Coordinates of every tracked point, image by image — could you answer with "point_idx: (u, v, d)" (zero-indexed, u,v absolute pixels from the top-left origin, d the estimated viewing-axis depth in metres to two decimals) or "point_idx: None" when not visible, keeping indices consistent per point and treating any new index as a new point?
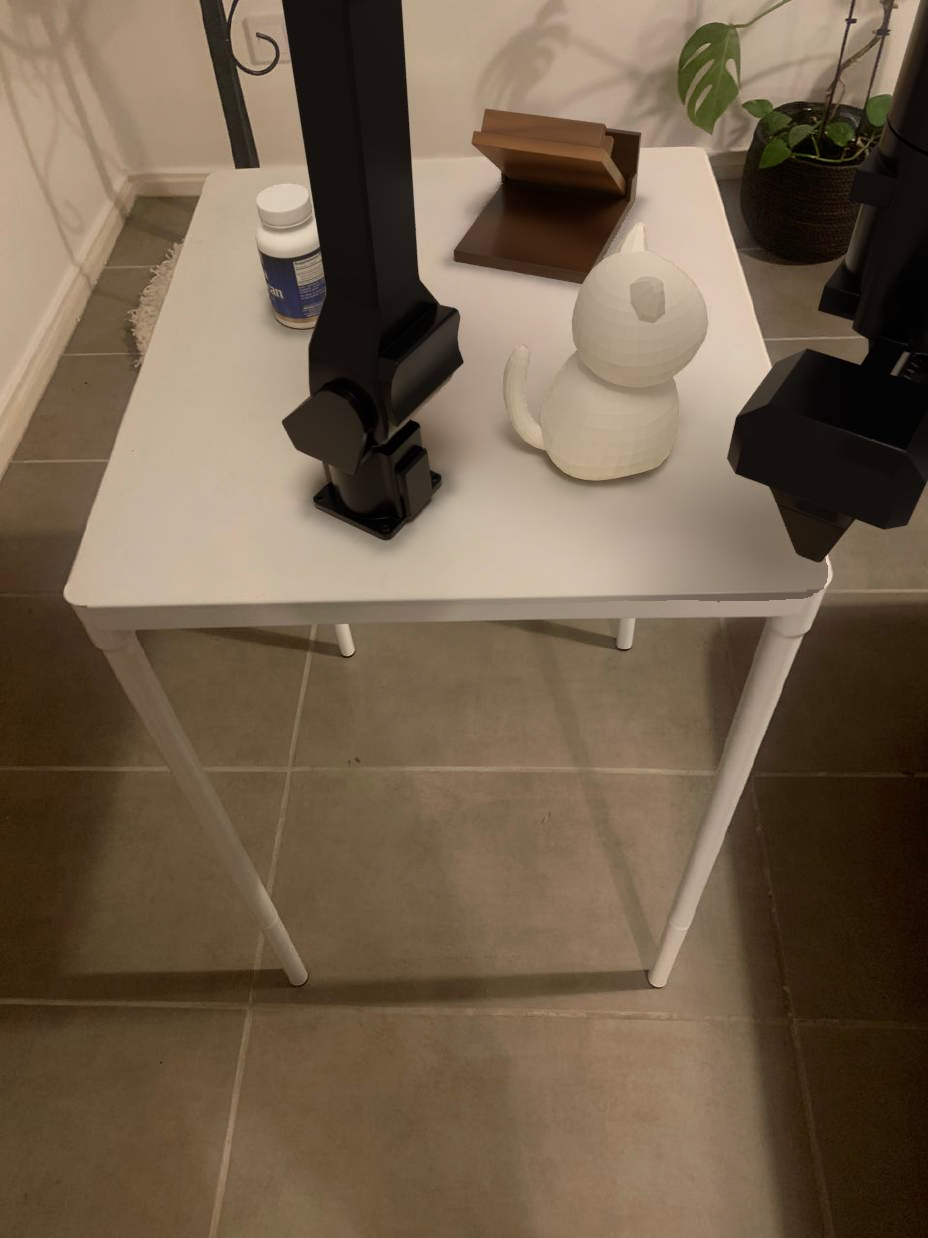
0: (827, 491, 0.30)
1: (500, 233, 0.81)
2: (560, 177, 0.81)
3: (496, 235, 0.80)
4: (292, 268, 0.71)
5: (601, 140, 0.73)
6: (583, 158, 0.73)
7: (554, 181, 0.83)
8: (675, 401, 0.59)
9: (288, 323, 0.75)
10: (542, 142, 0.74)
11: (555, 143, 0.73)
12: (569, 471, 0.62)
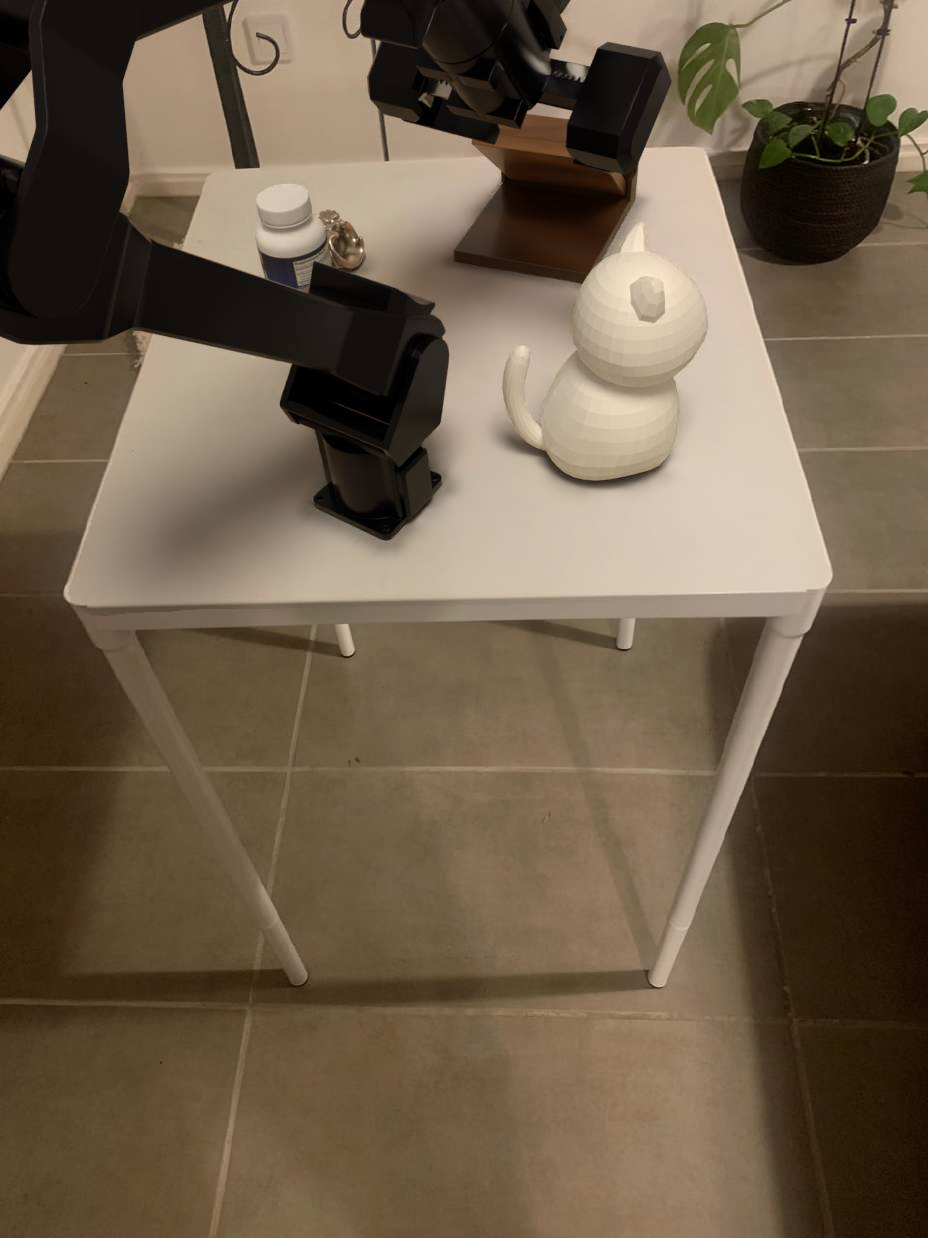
0: (655, 109, 0.54)
1: (500, 233, 0.81)
2: (560, 177, 0.81)
3: (496, 235, 0.80)
4: (292, 268, 0.71)
5: None
6: None
7: (554, 181, 0.83)
8: (675, 401, 0.59)
9: None
10: (542, 142, 0.74)
11: (555, 143, 0.73)
12: (569, 471, 0.62)
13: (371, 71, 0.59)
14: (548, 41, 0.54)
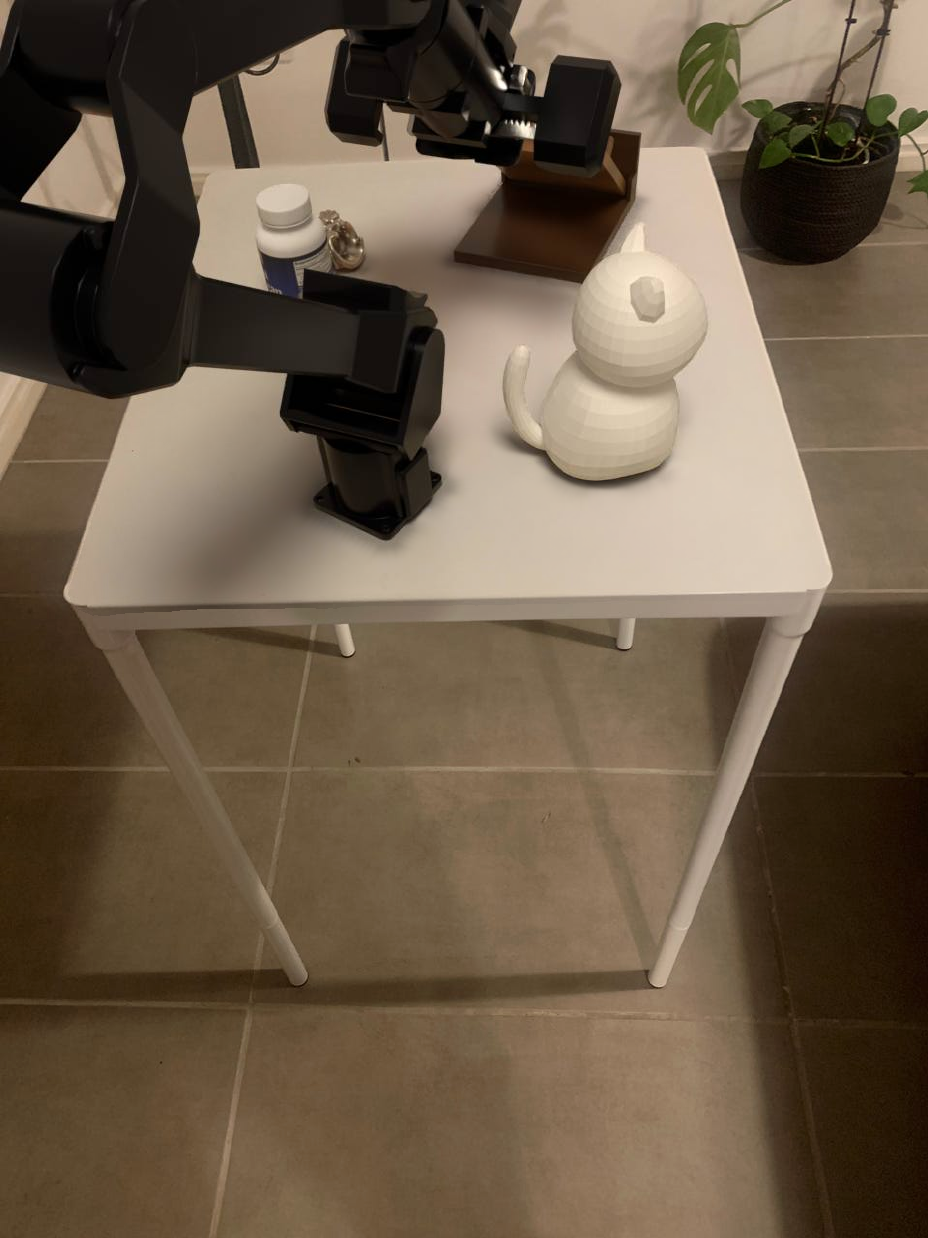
0: (611, 114, 0.57)
1: (500, 233, 0.81)
2: (560, 177, 0.81)
3: (496, 235, 0.80)
4: (292, 268, 0.71)
5: None
6: None
7: (554, 181, 0.83)
8: (675, 401, 0.59)
9: None
10: None
11: None
12: (569, 471, 0.62)
13: (329, 105, 0.61)
14: (502, 61, 0.57)
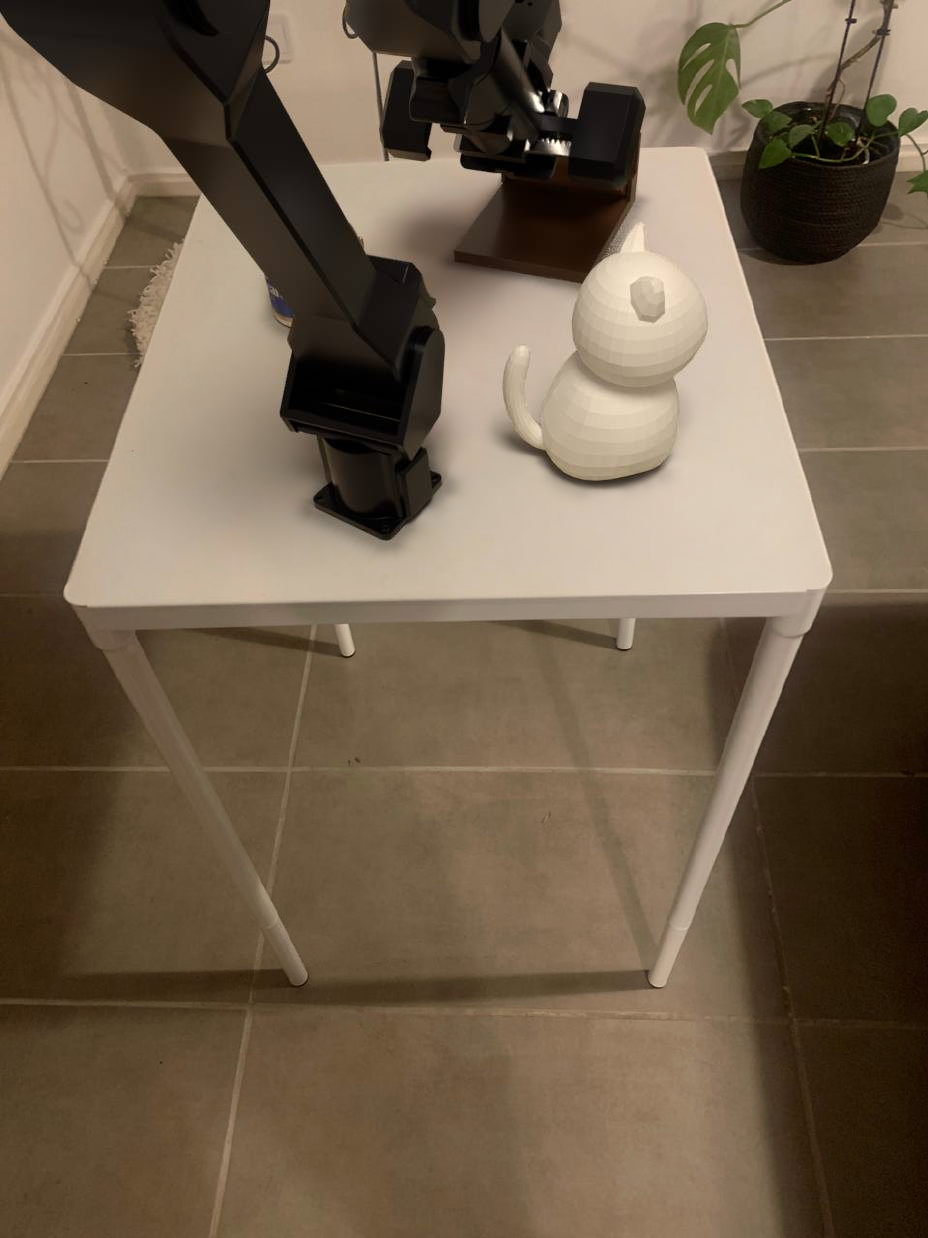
0: (637, 134, 0.65)
1: (500, 233, 0.81)
2: (560, 177, 0.81)
3: (496, 235, 0.80)
4: None
5: None
6: None
7: (554, 181, 0.83)
8: (675, 401, 0.59)
9: (288, 323, 0.75)
10: None
11: None
12: (569, 471, 0.62)
13: (384, 125, 0.68)
14: (541, 88, 0.64)
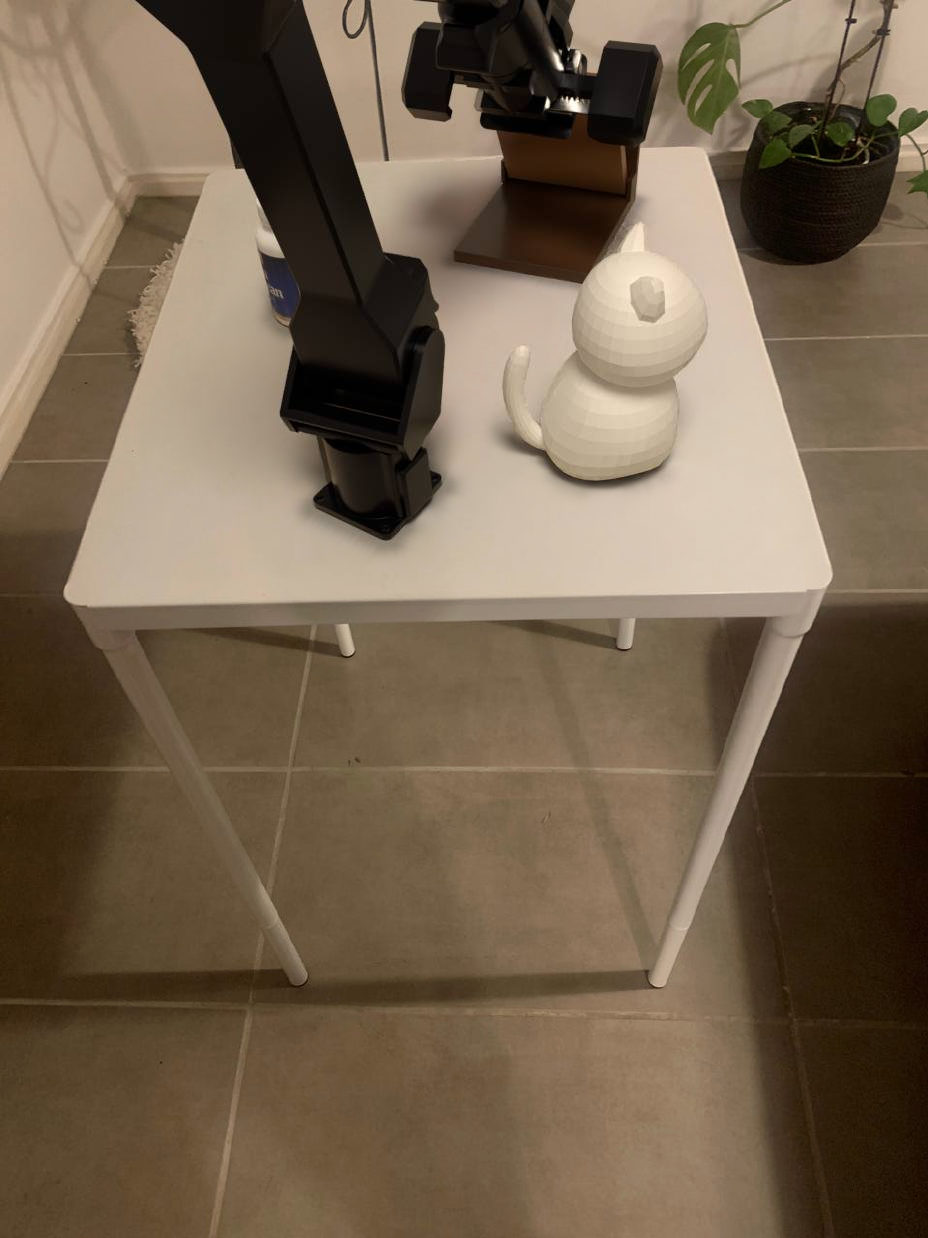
0: (655, 91, 0.66)
1: (500, 233, 0.81)
2: (564, 159, 0.81)
3: (496, 235, 0.80)
4: None
5: None
6: None
7: (556, 172, 0.83)
8: (675, 401, 0.59)
9: (288, 323, 0.75)
10: None
11: None
12: (569, 471, 0.62)
13: (406, 84, 0.70)
14: (561, 45, 0.66)
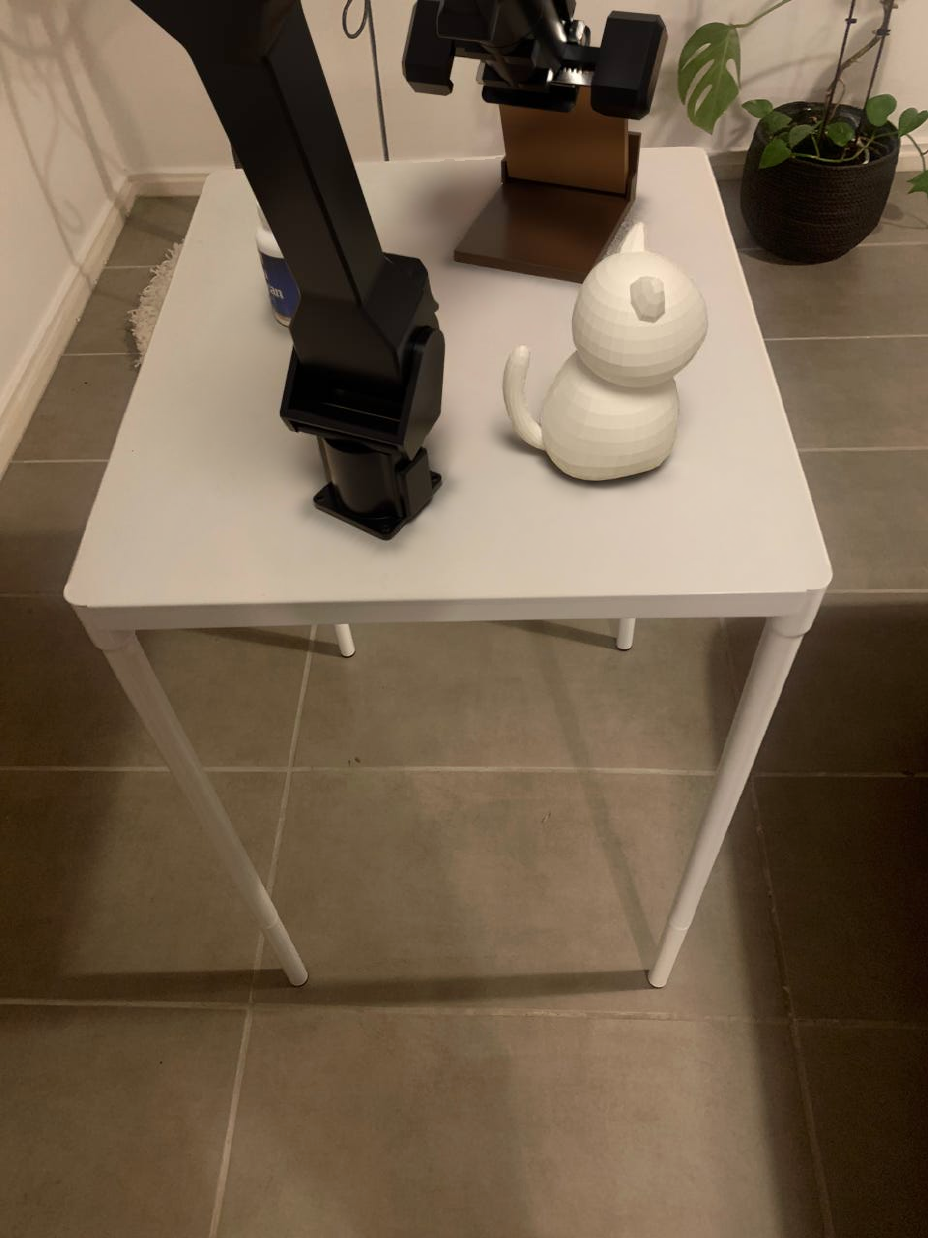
0: (659, 63, 0.65)
1: (500, 233, 0.81)
2: (566, 152, 0.81)
3: (496, 235, 0.80)
4: None
5: None
6: None
7: (557, 168, 0.83)
8: (675, 401, 0.59)
9: (288, 323, 0.75)
10: None
11: None
12: (569, 471, 0.62)
13: (406, 57, 0.69)
14: (564, 16, 0.65)
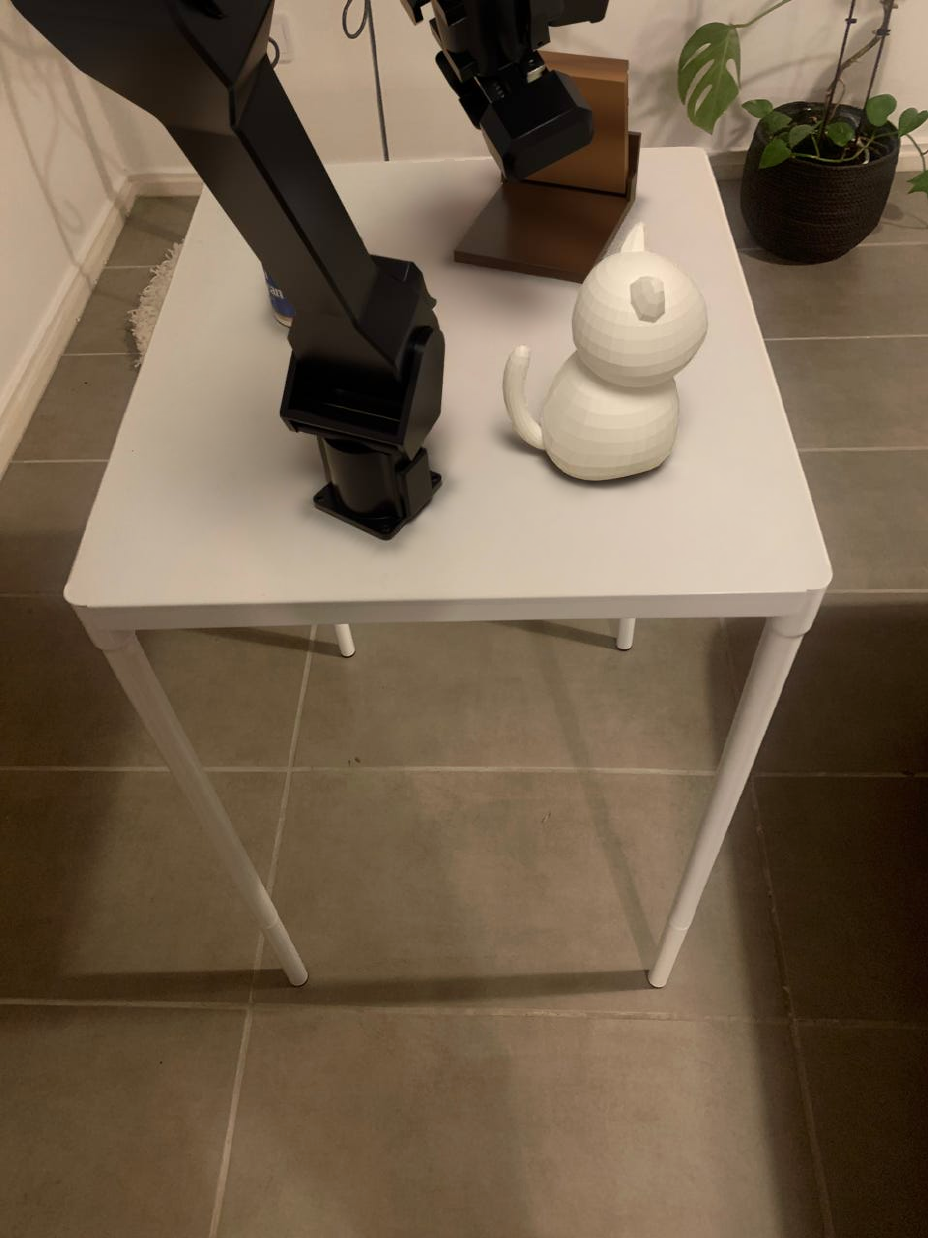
0: (560, 150, 0.58)
1: (500, 233, 0.81)
2: None
3: (496, 235, 0.80)
4: None
5: (624, 71, 0.74)
6: (606, 79, 0.73)
7: (557, 168, 0.83)
8: (675, 401, 0.59)
9: (288, 323, 0.75)
10: (565, 67, 0.74)
11: (578, 68, 0.74)
12: (569, 471, 0.62)
13: None
14: (528, 37, 0.58)
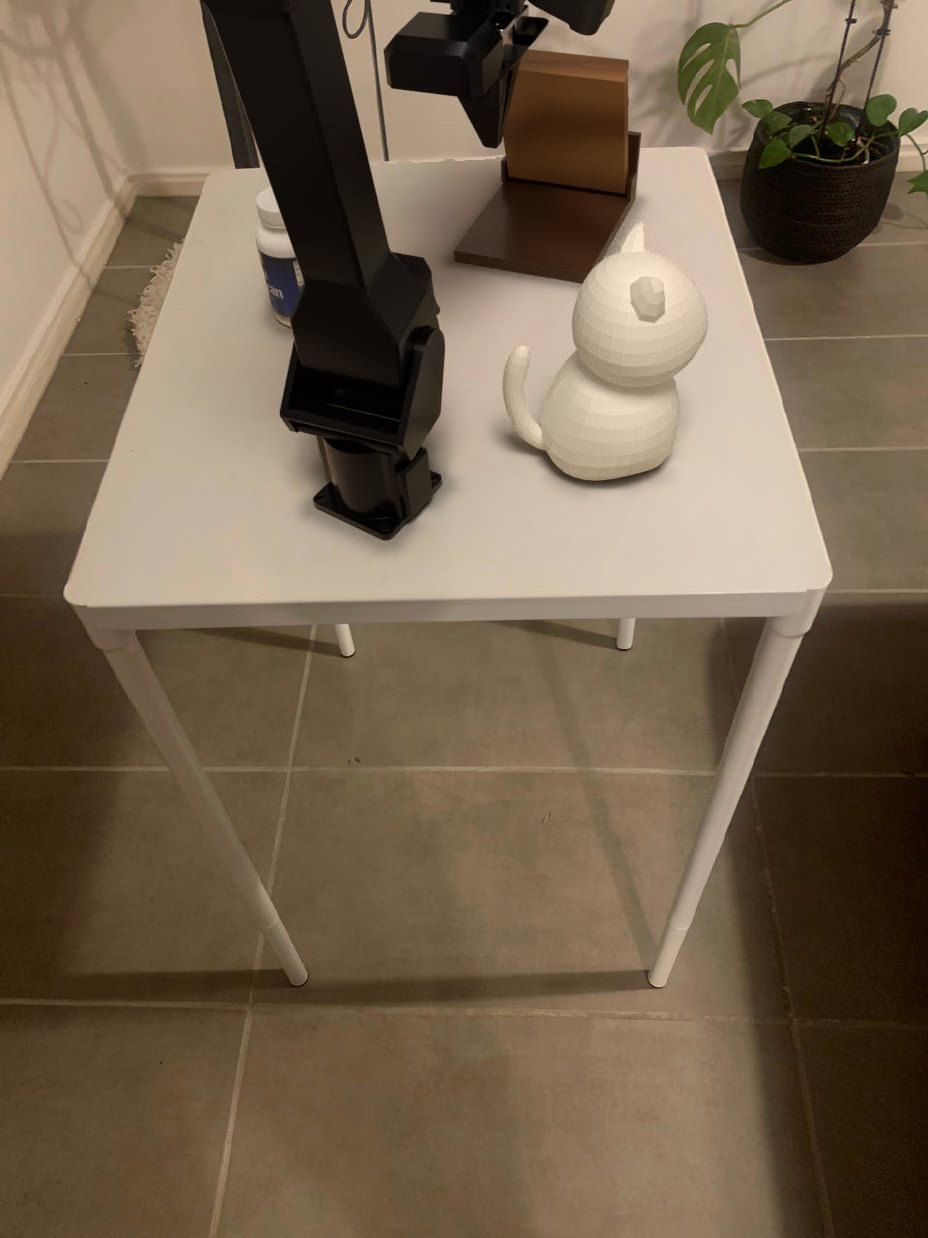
0: (437, 81, 0.54)
1: (500, 233, 0.81)
2: (566, 152, 0.81)
3: (496, 235, 0.80)
4: (292, 268, 0.71)
5: (624, 71, 0.74)
6: (606, 79, 0.73)
7: (557, 168, 0.83)
8: (675, 401, 0.59)
9: (288, 323, 0.75)
10: (565, 67, 0.74)
11: (578, 68, 0.74)
12: (569, 471, 0.62)
13: None
14: None
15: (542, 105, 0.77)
